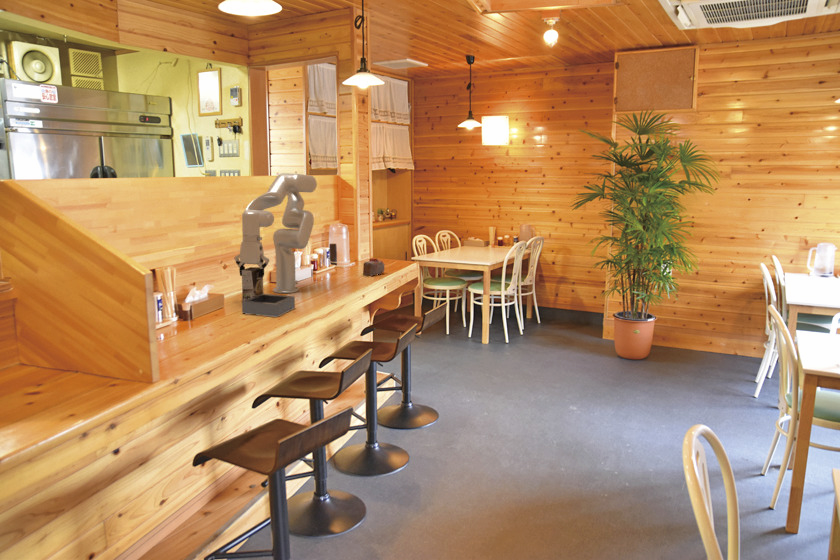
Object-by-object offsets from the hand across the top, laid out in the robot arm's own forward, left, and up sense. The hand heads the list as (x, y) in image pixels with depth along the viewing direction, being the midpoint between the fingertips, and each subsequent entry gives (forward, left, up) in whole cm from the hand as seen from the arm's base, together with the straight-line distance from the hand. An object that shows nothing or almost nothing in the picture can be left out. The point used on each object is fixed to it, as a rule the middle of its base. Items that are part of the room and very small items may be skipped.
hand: (251, 276), depth 268 cm
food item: (-87, +29, -13) cm, 92 cm away
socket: (+10, +14, -13) cm, 21 cm away
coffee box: (-1, 0, -13) cm, 13 cm away
